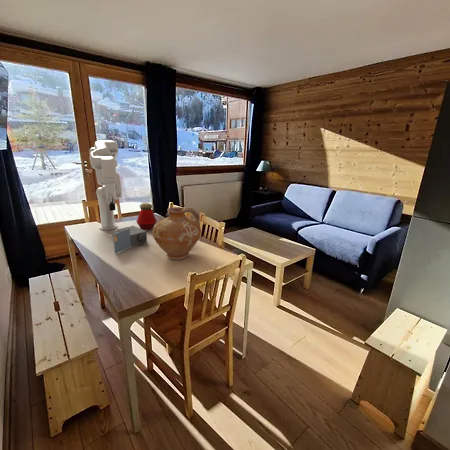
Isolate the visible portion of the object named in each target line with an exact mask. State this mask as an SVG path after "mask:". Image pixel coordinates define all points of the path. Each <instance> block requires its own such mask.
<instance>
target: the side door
mask: <svg viewBox="0 0 450 450" xmlns="http://www.w3.org/2000/svg"><path fill="white" fill-rule="evenodd" d="M112 240H113V248H114V249H113V250H114V254H115V255H116V254H118V253H120V252H123V251H125V250H128V249H129V248H132V247H131V240H130V228H128V229H125V230H123V231H120V232H114V233H112Z"/></svg>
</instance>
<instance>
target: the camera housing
mask: <svg viewBox="0 0 450 450" xmlns="http://www.w3.org/2000/svg"><path fill="white" fill-rule="evenodd" d="M128 228H130V240H131V247H130V248H132V247H136V246H138V245H143V244H146V243H148V237H147V236H148V234H147V230H142V229H141V228H140V227H139V226H138V227H137V226H135V225H130V226H126V227H121V228H118V229H117V230H116V231H117V232H120V231H123V230H125V229H128ZM117 232H116V233H117Z"/></svg>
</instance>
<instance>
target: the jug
mask: <svg viewBox="0 0 450 450" xmlns="http://www.w3.org/2000/svg"><path fill="white" fill-rule="evenodd" d="M167 213H169V217H167V218H166V217H165V218H163V219H160V221H158V222H156V224H155V226H154V228H153V229H152V237H153V239H154V242H156V244H157V245H158V246H159V248H161V249H162V251H164V252H165V253H166V256H167V258H168V259H170V260H174V261H180V260H184V259H186V258H188V257H189V255H190V253H189V252H190V251H191V250H192V249H193V248H194V246H195V245H196V244H197V243H198V241H199V240H200V238H201V235H202V228H201V222H200V221H201V217H200V212H198V210H196V209H194V208H193V207H188V206H187V207H184V206H183V207H181V206H173V207H169V208H167ZM186 213H190V214H192V215H193V216H194V218H192V217H189V216H186V215H185V214H186Z"/></svg>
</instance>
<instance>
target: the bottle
mask: <svg viewBox="0 0 450 450" xmlns="http://www.w3.org/2000/svg"><path fill="white" fill-rule="evenodd" d="M139 208H140V212H139V214H138V216H137V218H136V221H135V222H136V224H137V225H138V228H140V229H142V230H145V231H151V230H152V231H153V229H154V227H155V225H156V224H157V223H158V222H157V221H158V220H157V218H156V216H155V214H154V212H153V210H152V209H153V205H152V204H151V203H149V202H142V203H141V204H139Z"/></svg>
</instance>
